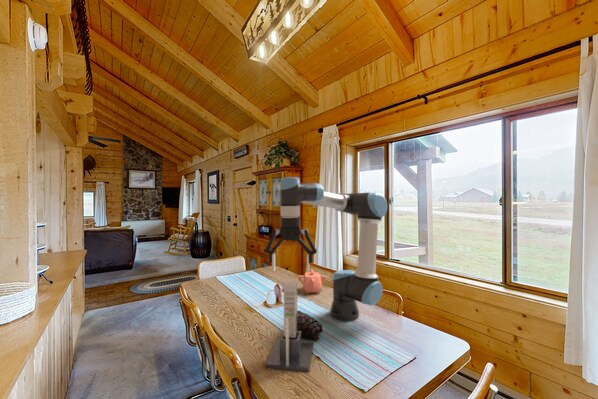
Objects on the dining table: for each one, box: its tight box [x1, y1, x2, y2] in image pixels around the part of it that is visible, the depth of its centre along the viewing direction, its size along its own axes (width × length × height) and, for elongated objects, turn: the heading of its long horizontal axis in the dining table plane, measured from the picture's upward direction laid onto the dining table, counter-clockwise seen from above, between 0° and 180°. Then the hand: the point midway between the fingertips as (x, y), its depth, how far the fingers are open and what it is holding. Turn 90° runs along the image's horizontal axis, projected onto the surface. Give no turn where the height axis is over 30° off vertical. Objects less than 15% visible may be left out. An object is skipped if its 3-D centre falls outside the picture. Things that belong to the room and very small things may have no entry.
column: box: [283, 281, 298, 338], centre depth 104 cm, size 4×5×20 cm
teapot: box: [297, 268, 328, 295], centre depth 178 cm, size 17×16×13 cm
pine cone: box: [297, 310, 324, 342], centre depth 122 cm, size 10×18×10 cm, turn 65°
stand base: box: [265, 316, 314, 372], centre depth 105 cm, size 16×16×19 cm
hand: (290, 271), depth 105 cm, fingers open, 13 cm apart
